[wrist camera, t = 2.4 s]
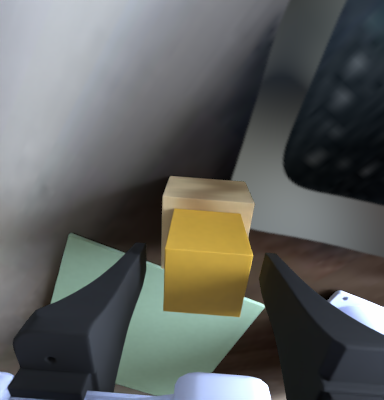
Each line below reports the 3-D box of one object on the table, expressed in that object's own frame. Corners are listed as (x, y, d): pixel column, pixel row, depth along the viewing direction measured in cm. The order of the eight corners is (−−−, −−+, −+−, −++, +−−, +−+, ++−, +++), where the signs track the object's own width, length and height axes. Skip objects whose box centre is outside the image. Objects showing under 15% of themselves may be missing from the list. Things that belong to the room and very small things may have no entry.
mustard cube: (240, 213, 16) (253, 255, 12) (231, 266, 18) (240, 317, 14) (174, 208, 16) (164, 248, 12) (171, 261, 18) (163, 311, 14)
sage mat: (264, 304, 25) (264, 307, 24) (186, 400, 33) (185, 404, 32) (70, 232, 22) (68, 234, 22) (37, 357, 30) (35, 360, 30)
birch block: (245, 181, 19) (255, 203, 16) (234, 244, 22) (240, 275, 18) (169, 175, 19) (162, 196, 16) (167, 238, 22) (160, 269, 18)
